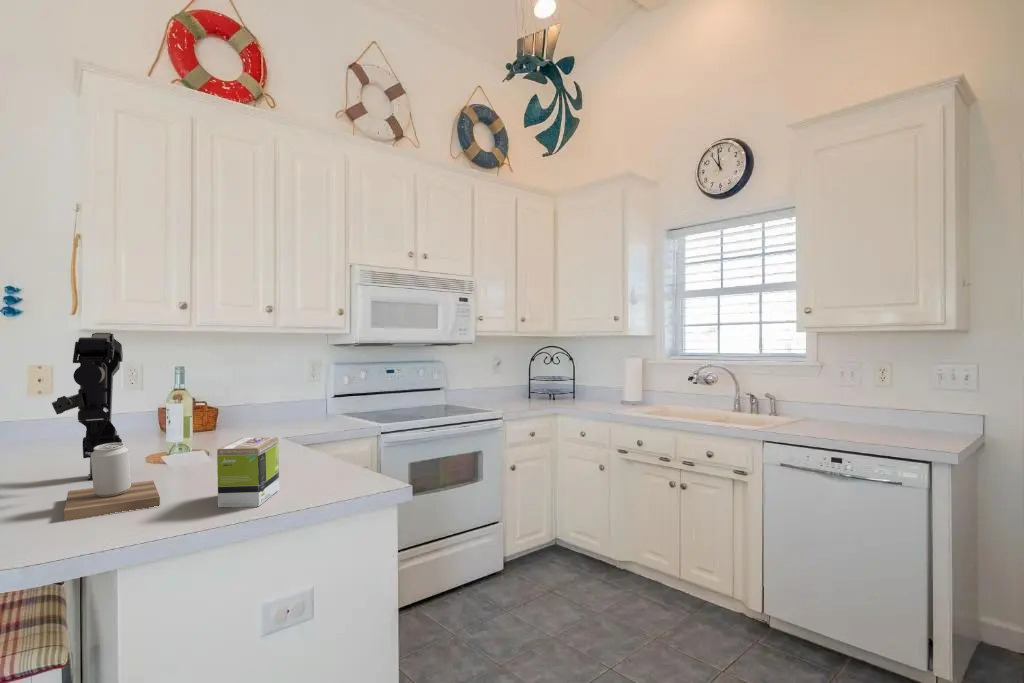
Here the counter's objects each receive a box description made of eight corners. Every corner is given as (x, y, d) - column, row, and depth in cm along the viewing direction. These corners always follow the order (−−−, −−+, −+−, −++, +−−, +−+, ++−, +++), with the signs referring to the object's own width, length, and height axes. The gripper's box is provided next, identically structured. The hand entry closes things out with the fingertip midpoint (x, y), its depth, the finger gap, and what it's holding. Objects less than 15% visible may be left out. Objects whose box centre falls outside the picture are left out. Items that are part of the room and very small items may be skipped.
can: (108, 499, 130) (104, 451, 129) (86, 496, 133) (82, 448, 131) (138, 488, 137) (135, 442, 136) (117, 485, 140) (113, 439, 138)
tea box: (241, 491, 146) (241, 436, 146) (280, 490, 147) (280, 436, 147) (216, 508, 131) (216, 447, 131) (259, 507, 132) (259, 446, 132)
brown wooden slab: (68, 502, 137) (68, 491, 137) (153, 491, 148) (153, 480, 148) (64, 524, 122) (64, 510, 122) (159, 509, 132) (159, 497, 132)
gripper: (56, 383, 148) (56, 440, 148) (51, 388, 133) (51, 452, 133) (107, 381, 155) (107, 436, 155) (108, 386, 140) (108, 446, 140)
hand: (93, 442), depth 145 cm, fingers open, 9 cm apart
